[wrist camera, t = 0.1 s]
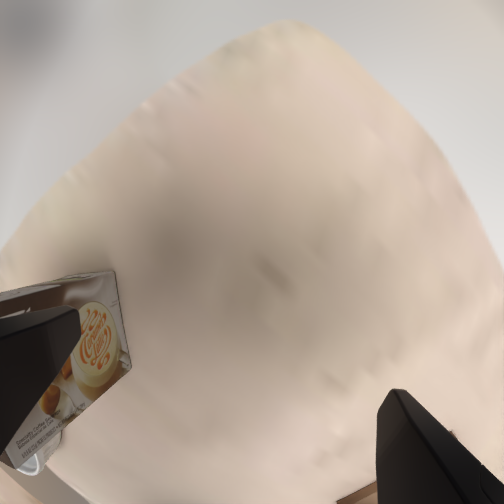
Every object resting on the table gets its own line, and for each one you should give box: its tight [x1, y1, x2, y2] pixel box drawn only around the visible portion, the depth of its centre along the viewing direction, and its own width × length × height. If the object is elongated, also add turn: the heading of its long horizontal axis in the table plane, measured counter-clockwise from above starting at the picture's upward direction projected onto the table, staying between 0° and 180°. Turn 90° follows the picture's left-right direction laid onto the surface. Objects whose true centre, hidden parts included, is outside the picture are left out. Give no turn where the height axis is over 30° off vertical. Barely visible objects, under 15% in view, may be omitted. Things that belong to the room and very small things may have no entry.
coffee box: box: [0, 271, 131, 469], centre depth 17 cm, size 9×6×16 cm
